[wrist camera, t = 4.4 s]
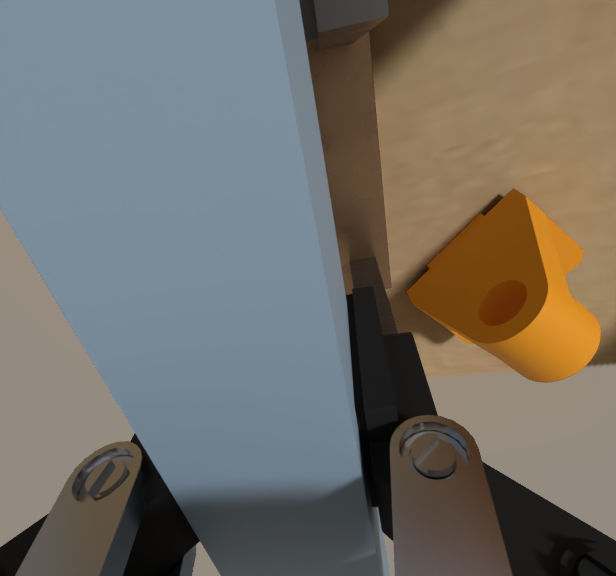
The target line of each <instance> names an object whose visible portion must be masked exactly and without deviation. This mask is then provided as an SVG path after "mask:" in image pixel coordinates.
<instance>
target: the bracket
mask: <svg viewBox="0 0 616 576" xmlns="http://www.w3.org/2000/svg"><path fill="white" fill-rule="evenodd" d="M583 255H584V253H583V250H582V248H581V247H580V246H579V245H577V244H576V243H575V242H574V241H573V240H572V239H571V238H570V237H569V236H568V235H567V234H566V233H565V232H564V231H562V230H561V229H560V228H559V227H558V226H557V225H556V224H555V223H554V222H553V221H552V220H551V219H550V218H549V217H547V216H546V215H545V214H544V213H543V212H542V211H541V210H540V209H539V208H538V207H537V206H536V205H535V204H534V203H532V202H531V201H530V200H529V199H528V198H527V197H526V196H525V195H523V194H521V193H520V192H518V191H517V190H515V189H512V190H511V191H510V192H509V193H508V194H507V195H506V196H505V197H504V198H503V199H502V200H501V201H500V202H499V203H498V204H497V205H495V206H494V207H493V208H492V209H491V210H490V211H489V212H488V213H487V214H486V215H485V216H484V215H483V214H482V213H480V214H479V215H478V216H477V217H476V218H475V219H474V220H473V221H472V222H471V223H470V224H469V225H468V226H467V227H466V228H465V229H463V230H462V231H461V232H460V233H459V234H458V235H457V236H456V237H455V238H454V239H453V240H452V241H451V242H450V243H449V244H448V245H447V246H446V247H445V248H444V249H443V250H442V251H441V252H440V253H439V254H438V255H437V256H436V257H435V258H434V259H433V260H432V261H431V262H430V263H429V264H428V265H427V266H428V268H429V270H428V271H427V272H426V273H425V274H424V275H423V276H422V277H421V278H420V279H419V280H418V281H417V282H416V283H415V284H414V285H413V286H412V287H411V288H410V289H408V290H407V294H408V296H409V299H410V301H411V303H412V304H413V305H414V306H416V307H417V308H419V309H420V310H421V311H423V312H424V313H426V314H427V315H428V316H430V317H431V318H433V319H434V320H435V321H437V322H438V323H440V324H441V325H442V326H444V327H445V328H447V329H448V330H449V331H451V332H452V333H454V334H455V335H456V336H458V337H459V338H461V339H462V340H463V341H465V342H466V343H469V344H476V345H477V346H479V347H481V348H482V349H484V350H486V351H487V352H489V353H491V354H492V355H494V356H496V357H497V358H499V359H500V360H501V361H503V362H504V363H506V364H507V365H508V366H510V367H511V368H512V369H514V370H515V371H517V372H518V373H519V374H521V375H522V376H524V377H525V378H527V379H529V380H532V381H537V382H554V381H559V380H562V379H565V378H568V377H570V376H572V375H574V374H575V373H577V372H578V371H580V370H581V369H582V368H583V367H585V366H586V365H587V364H588V362H589V361H590V360H591V359H592V358H593V356H594V354H595V353H596V351H597V349H598V346H599V343H600V335H601V333H600V327H599V324H598V321H597V319H596V318H595V317H594V315H593V314H592V313H591V312H590V311H588V310H587V309H586V308H585V307H584V306H583V305H581V304H580V303H579V302H578V301H577V300H576V299H574V298H573V297H572V296H571V295H570V293H569V289H568V286H567V283H566V280H565V275H566V274H567V273H568V272H570V271H571V270H572V269H573V268H575V267H576V266H577V265H578V264H579V263H580V262H581V260H582V259H583Z"/></svg>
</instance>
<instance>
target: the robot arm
mask: <svg viewBox="0 0 616 576" xmlns="http://www.w3.org/2000/svg"><path fill="white" fill-rule="evenodd" d="M346 300H347V310H348V323H349V337H350V350H351V364H352V377H353V391H354V402H355V411H356V418H357V424H358V430H359V436H360V441H361V447H362V453H363V459H364V464H365V470H366V476H367V482H368V487H369V493H370V499H371V505H372V507H378V510H379V517H380V523H381V529H382V532H384V533H385V534H386V535H387V536H388V537H389V538H390V539H391V540H393V543H394V567H395V576H616V541H615V540H613V539H612V538H610V537H608V536H607V535H605V534H603V533H602V532H600V531H598V530H597V529H595V528H593V527H591V526H590V525H588V524H586V523H585V522H583V521H581V520H580V519H578V518H576V517H574V516H573V515H571V514H570V513H568V512H566V511H564V510H563V509H561V508H559V507H558V506H556V505H554V504H553V503H551V502H549V501H548V500H546V499H544V498H543V497H541V496H539V495H537V494H535V493H534V492H532V491H531V490H529V489H527V488H526V487H524V486H522V485H521V484H519V483H517V482H516V481H514V480H512V479H511V478H509V477H507V476H505V475H504V474H502V473H500V472H499V471H497V470H495V469H494V468H492V467H490V466H489V465H487V464H485V463H483V462H482V460H481V456H480V452H479V449H478V447H477V444H476V442H475V440H474V438H473V437H472V436H471V435H470V434H469V432H468V431H467V430H466V429H465V428H464V427H462V426H461V425H459V424H458V423H456V422H455V421H453V420H450V419H447V418H444V417H441V416H438V415H437V412H436V408H435V405H434V402H433V399H432V396H431V392H430V389H429V386H428V383H427V379H426V376H425V373H424V370H423V367H422V363H421V360H420V357H419V354H418V351H417V347H416V344H415V341H414V338H413V335H412V333H411V332H408V333H399V334H391V335H383V334H382V329H381V324H380V319H379V314H378V309H377V304H376V299H375V294H374V289H373V286H368V287H360V288H353V289H352V294H349V295H346ZM199 541H200V540H199V538H198V537H197V535H196V533H195V532H194V530H193V528H192V527H191V525H190V523H189V522H188V520H187V518H186V517H185V515H184V513H183V512H182V510H181V508H180V507H179V505H178V503H177V502H176V500H175V498H174V497H173V495H172V493H171V492H170V490H169V488H168V487H167V485H166V483H165V482H164V480H163V478H162V477H161V475H160V473H159V472H158V470H157V469H156V467H155V465H154V464H153V462H152V460H151V459H150V457H149V455H148V454H147V452H146V450H145V449H144V447H143V445H142V444H141V442H140V440H139V439H138V437H137V435H136V434H134V436H133V438H132V440H131V442H128V441H125V442H116V443H112V444H109V445H106V446H104V447H102V448H100V449H98V450H97V451H95V452H94V453H92V454H91V455H90V456H88V457H87V458H85V459H84V460H83V461H82V462H81V463H80V464H79V465H78V466H77V467H76V468H75V470H74V471H73V473H72V474H71V475H70V477H69V478H68V480H67V482H66V483H65V485H64V487H63V489H62V491H61V493H60V494H59V496H58V498H57V500H56V502H55V504H54V505H53V507H52V509H51V511H50V513H49V514H47V515H46V516H45V517H43V518H42V519H40V520H39V521H38V522H36V523H34V524H33V525H32V526H30V527H29V528H28V529H26V530H24V531H23V532H22V533H20V534H19V535H17V536H16V537H14V538H13V539H12V540H10V541H9V542H7V543H6V544H4V545H3V546H1V547H0V576H192V572H193V567H194V561H195V556H196V544H197V543H198V542H199Z"/></svg>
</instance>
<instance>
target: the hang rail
mask: <svg viewBox="0 0 616 576" xmlns="http://www.w3.org/2000/svg"><path fill="white" fill-rule="evenodd" d="M0 209H1V211H2V213H3V214H4V216H5V218H6V219H7V221H8V223H9V224H10V226H11V228H12V229H13V231H14V233H15V234H16V236H17V238H18V239H19V241H20V243H21V244H22V246H23V247H24V249H25V251H26V253H27V254H28V256H29V258H30V259H31V261H32V263H33V264H34V266H35V267H36V269H37V271H38V273H39V274H40V276H41V277H42V279H43V281H44V282H45V284H46V286H47V287H48V289H49V291H50V292H51V294H52V296H53V297H54V299H55V301H56V302H57V304H58V306H59V307H60V309H61V310H62V312H63V314H64V316H65V317H66V319H67V321H68V322H69V324H70V326H71V327H72V329H73V331H74V332H75V334H76V336H77V337H78V339H79V341H80V342H81V344H82V346H83V347H84V349H85V350H86V352H87V354H88V356H89V357H90V359H91V361H92V362H93V364H94V366H95V367H96V369H97V371H98V372H99V374H100V376H101V377H102V379H103V380H104V382H105V384H106V385H107V387H108V389H109V390H110V392H111V394H112V395H113V397H114V399H115V400H116V402H117V404H118V405H119V407H120V409H121V410H122V412H123V414H124V415H125V417H126V419H127V420H128V422H129V424H130V425H131V427H132V429H133V430H134V432H135V434H136V435H137V437H138V439H139V440H140V442H141V444H142V445H143V447H144V449H145V450H146V452H147V454H148V455H149V457H150V459H151V460H152V462H153V464H154V465H155V467H156V469H157V470H158V472H159V473H160V475H161V477H162V478H163V480H164V482H165V483H166V485H167V487H168V488H169V490H170V492H171V493H172V495H173V497H174V498H175V500H176V502H177V503H178V505H179V507H180V508H181V510H182V512H183V513H184V515H185V517H186V518H187V520H188V522H189V523H190V525H191V527H192V528H193V530H194V532H195V533H196V535H197V537H198V538H199V540H200V542H201V543H202V545H203V546H204V548H205V550H206V552H207V553H208V555H209V557H210V558H211V560H212V562H213V563H214V565H215V566H216V568H217V570H218V571H219V573H220V575H221V576H390V573H389V566H388V560H387V553H386V547H385V541H384V534H383V532H382V529H381V523H380V517H379V510H378V507H372V505H371V499H370V493H369V487H368V482H367V476H366V470H365V464H364V459H363V453H362V447H361V441H360V436H359V430H358V424H357V418H356V411H355V402H354V391H353V377H352V364H351V350H350V337H349V323H348V310H347V300H346V294H345V288H344V281H343V275H342V269H341V262H340V256H339V250H338V243H337V237H336V231H335V224H334V218H333V212H332V205H331V199H330V193H329V186H328V180H327V174H326V167H325V161H324V155H323V148H322V142H321V136H320V129H319V123H318V117H317V110H316V104H315V98H314V91H313V85H312V79H311V72H310V66H309V60H308V53H307V47H306V41H305V34H304V28H303V22H302V15H301V9H300V3H299V0H0Z"/></svg>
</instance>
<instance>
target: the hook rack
mask: <svg viewBox="0 0 616 576" xmlns="http://www.w3.org/2000/svg"><path fill="white" fill-rule="evenodd" d="M299 3H300V9H301V15H302V22H303V28H304V34H305V41H306V47H307V53H308V60H309V66H310V72H311V79H312V85H313V91H314V98H315V104H316V110H317V117H318V123H319V129H320V136H321V142H322V148H323V155H324V161H325V167H326V174H327V180H328V186H329V193H330V199H331V205H332V212H333V218H334V224H335V231H336V237H337V243H338V250H339V256H340V262H341V269H342V275H343V281H344V288H345V294H352V289H353V288H360V287H368V286H373V289H374V294H375V299H376V304H377V309H378V314H379V319H380V324H381V329H382V334H383V335H391V334H398V332H397V328H396V325H395V321H394V318H393V315H392V311H391V308H390V304H389V301H388V298H387V294H386V291H385V289H388V288H391V277H390V266H389V254H388V243H387V231H386V220H385V208H384V197H383V185H382V174H381V163H380V151H379V140H378V128H377V117H376V105H375V94H374V82H373V71H372V59H371V48H370V36H369V31H370V30H371V29H373V28H374V27H375V26H377V25H378V24H379V23H381V22H382V21H383V20H385V19H386V18H387V17H389V11H388V0H299Z"/></svg>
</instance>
